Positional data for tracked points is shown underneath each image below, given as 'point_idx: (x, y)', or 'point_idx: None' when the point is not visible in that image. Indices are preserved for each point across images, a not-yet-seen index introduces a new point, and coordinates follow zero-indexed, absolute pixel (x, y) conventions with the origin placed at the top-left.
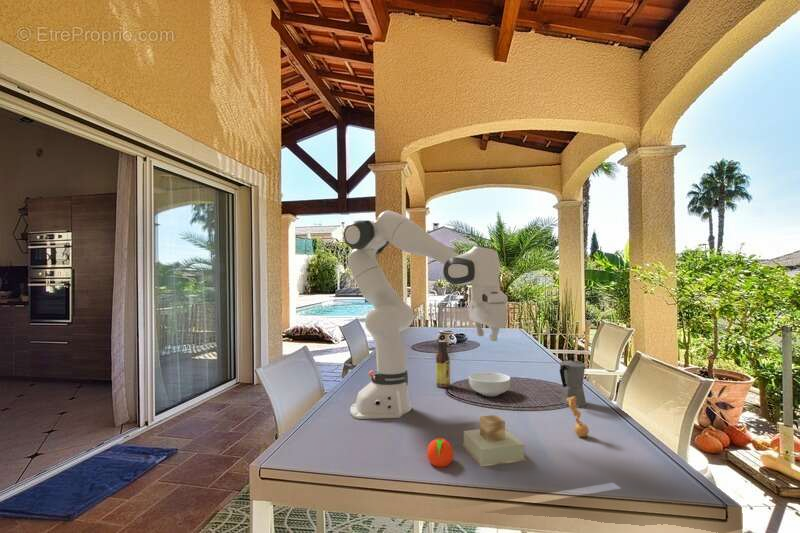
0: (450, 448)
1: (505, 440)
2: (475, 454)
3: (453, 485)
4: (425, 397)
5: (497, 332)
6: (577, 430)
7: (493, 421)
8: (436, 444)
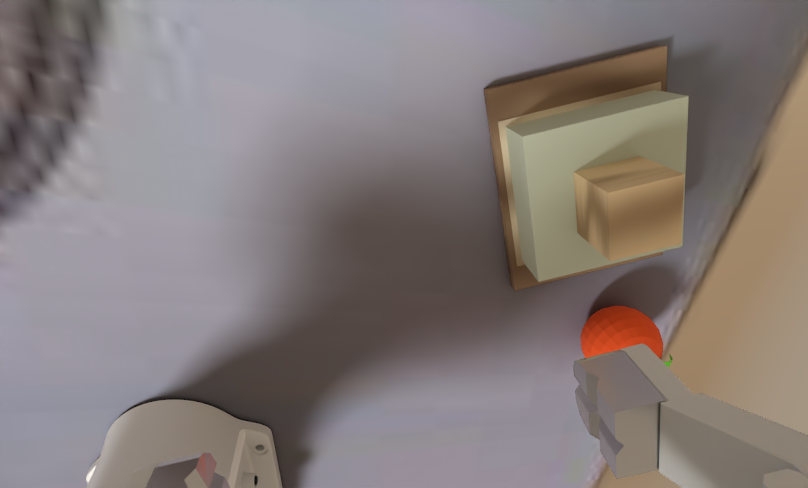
0: (652, 330)
1: (643, 156)
2: None
3: (693, 299)
4: (4, 351)
5: (775, 437)
6: None
7: (671, 220)
8: None
